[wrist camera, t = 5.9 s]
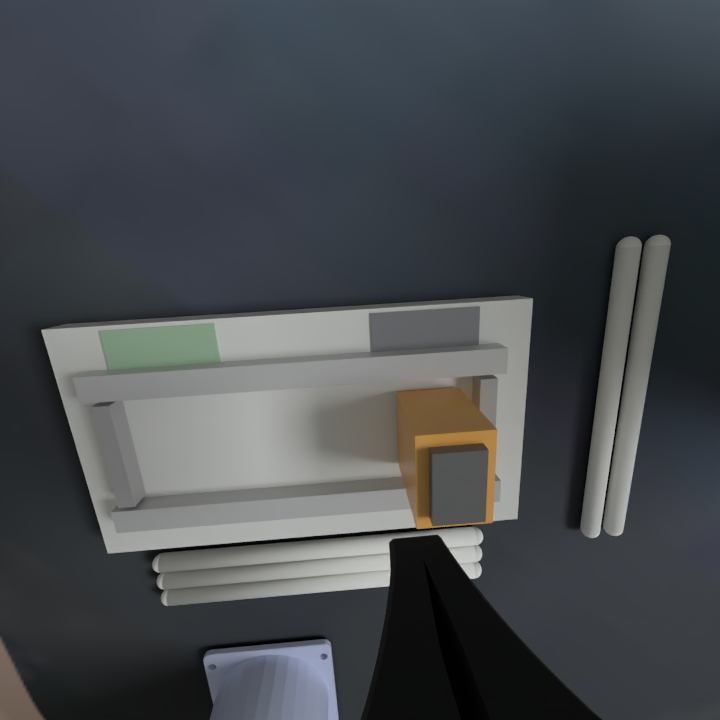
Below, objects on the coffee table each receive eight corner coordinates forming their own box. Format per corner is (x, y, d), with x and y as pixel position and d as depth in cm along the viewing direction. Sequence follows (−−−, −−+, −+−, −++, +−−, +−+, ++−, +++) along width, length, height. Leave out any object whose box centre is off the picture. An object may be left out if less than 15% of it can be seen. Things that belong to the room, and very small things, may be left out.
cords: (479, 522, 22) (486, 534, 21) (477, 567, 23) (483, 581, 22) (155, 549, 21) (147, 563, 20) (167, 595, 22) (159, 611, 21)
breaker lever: (457, 461, 18) (498, 531, 14) (398, 465, 18) (419, 538, 14) (458, 387, 17) (503, 435, 13) (396, 391, 17) (417, 442, 12)
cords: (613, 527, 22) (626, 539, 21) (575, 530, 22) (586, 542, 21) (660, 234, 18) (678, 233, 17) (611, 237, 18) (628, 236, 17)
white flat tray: (505, 501, 21) (526, 532, 19) (124, 532, 21) (95, 569, 18) (517, 295, 18) (544, 301, 16) (65, 324, 17) (21, 334, 15)
